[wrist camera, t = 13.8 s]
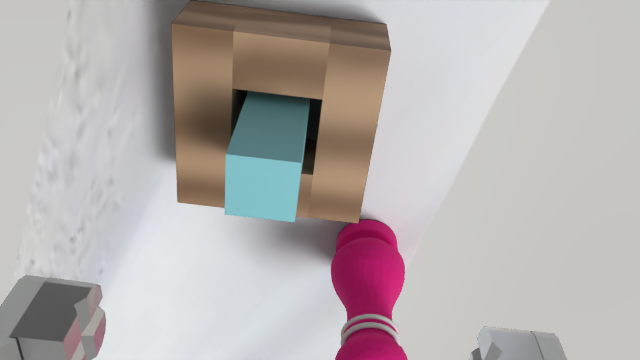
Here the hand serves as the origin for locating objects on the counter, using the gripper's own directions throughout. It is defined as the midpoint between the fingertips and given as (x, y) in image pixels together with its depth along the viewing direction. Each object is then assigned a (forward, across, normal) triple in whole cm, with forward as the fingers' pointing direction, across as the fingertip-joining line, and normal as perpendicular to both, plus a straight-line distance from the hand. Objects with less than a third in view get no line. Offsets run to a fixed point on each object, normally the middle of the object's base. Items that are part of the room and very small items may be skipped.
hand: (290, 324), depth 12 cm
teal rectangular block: (+37, +3, +13) cm, 39 cm away
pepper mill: (+37, -7, +28) cm, 47 cm away
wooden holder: (+37, +3, +13) cm, 39 cm away
